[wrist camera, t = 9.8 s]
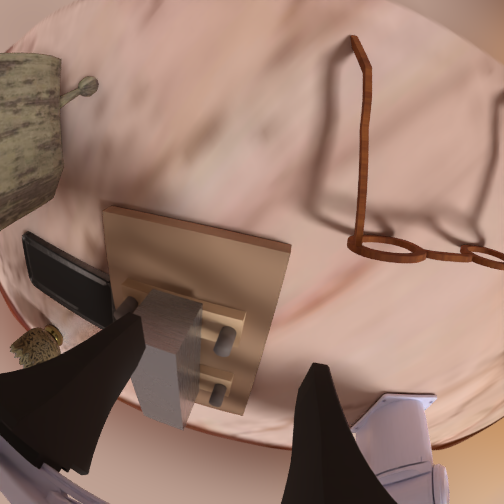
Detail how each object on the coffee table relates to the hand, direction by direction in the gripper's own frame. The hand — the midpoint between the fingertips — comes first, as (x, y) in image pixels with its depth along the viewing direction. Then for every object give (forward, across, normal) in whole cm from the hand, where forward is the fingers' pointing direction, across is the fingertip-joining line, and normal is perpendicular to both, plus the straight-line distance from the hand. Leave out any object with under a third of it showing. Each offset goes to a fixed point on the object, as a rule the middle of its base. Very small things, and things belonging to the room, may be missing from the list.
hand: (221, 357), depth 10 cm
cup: (+10, +27, +21) cm, 36 cm away
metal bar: (+7, +5, +10) cm, 13 cm away
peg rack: (+9, +5, +10) cm, 15 cm away
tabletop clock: (+10, +19, -7) cm, 22 cm away
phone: (+10, +20, +9) cm, 24 cm away
